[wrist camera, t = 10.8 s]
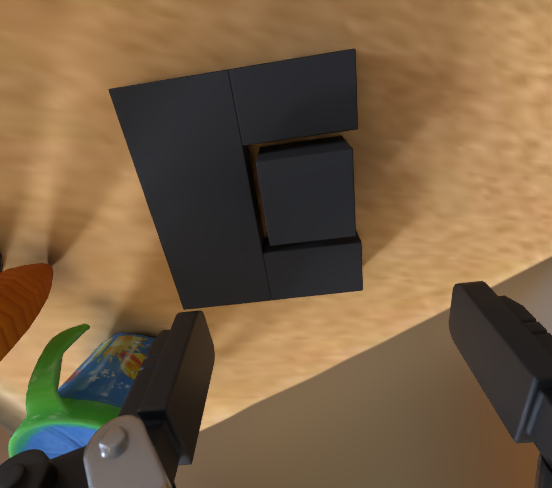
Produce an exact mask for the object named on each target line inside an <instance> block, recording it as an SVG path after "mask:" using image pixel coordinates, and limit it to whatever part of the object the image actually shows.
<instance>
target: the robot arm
mask: <svg viewBox="0 0 552 488" xmlns="http://www.w3.org/2000/svg"><path fill="white" fill-rule="evenodd" d="M449 330H450V334H451V337H452V339H453V341H454V343H455V345H456V346H457V348H458V350H459V351H460V353H461V355H462V356H463V358H464V360H465V361H466V363H467V364H468V366H469V368H470V369H471V371H472V372H473V374H474V376H475V378H476V379H477V381H478V383H479V384H480V386H481V387H482V389H483V391H484V392H485V394H486V396H487V397H488V399H489V401H490V402H491V404H492V405H493V407H494V409H495V410H496V412H497V414H498V415H499V417H500V419H501V420H502V422H503V423H504V425H505V427H506V428H507V430H508V432H509V433H510V435H511V437H512V438H513V440H514V441H515V443H529V442H534V444H535V445H536V447H537V448H538V450H539V451H540V454H539V457H538V462H537V470H536V478H535V487H534V488H552V335H551V334H550V333H547V330H546V329H545V328H544V327H543V326H542V325H541V324H540V323H539V322H536V319H535V318H534V317H533V316H532V315H531V314H530V313H529V312H528V311H527V310H526V308H525V307H524V306H522V305H520V304H519V303H517V302H515V301H513V300H512V299H510V298H508V297H506V296H497V295H496V294H495V292H493V290H492V289H491V288H490V287H489V286H488V285H487V284H486V283H485V282H483V281H477V282H467V283H458V284H455V285H454V287H453V293H452V301H451V308H450V317H449ZM145 357H146V358H145V359H144V360H143V362H142V365H141V367H140V371H138V373H137V376H136V378H135V380H134V382H133V384H132V387H131V389H130V391H129V393H128V395H127V397H126V400H125V402H124V404H123V406H122V408H121V411H120V413H119V415H118V417H117V418H114V419H112V420H110V421H108V422H107V423H106V424H104V425H103V426H102V427H100V428H99V429H98V430H97V431H96V432H95V433H94V435H93V436H92V437H91V439H90V440H89V442H88V444H87V445H85V446H83V447H81V448H78V449H76V450H73V451H71V452H68V453H65V454H63V455H60V456H58V457H55V458H52V459H49V457H48V456H47V455H46V454H45V453H44V452H43V451H41V450H38V449H30V450H26V451H23V452H20V453H18V454H16V455H14V456H13V457H11V458H9V459H8V460H7V461H5V462H4V463H3V464H1V465H0V488H177V486H176V483H175V481H174V479H175V476H176V472H177V468H178V465H188V464H192V461H193V456H194V452H195V447H196V443H197V438H198V434H199V429H200V425H201V420H202V416H203V411H204V407H205V402H206V398H207V393H208V389H209V384H210V380H211V375H212V370H213V366H214V360H215V352H214V345H213V341H212V338H211V335H210V332H209V329H208V326H207V323H206V319H205V316H204V314H203V312H202V311H191V312H182V313H178V314H177V315H176V317H175V320H174V322H173V325H172V327H171V329H170V330H163V331H162V332H161V333H160V334H159V335H158V336H157V337H156V338H155V340H154V341H153V342H152V343H151V345H150V347H149V349H148V352H147V354H146V356H145Z"/></svg>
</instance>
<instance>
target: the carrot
mask: <svg viewBox="0 0 552 488" xmlns="http://www.w3.org/2000/svg"><path fill="white" fill-rule="evenodd" d="M52 279H53V269H52V267H51V266H50V265H49V264H44V263H39V264H30V265H23V266H19V267H15V268H11V269H8V270H5V271H3V272H1V273H0V361H1V360H2V359H3V358H4V357H5V356H6V355H7V353H8V352H9V351H10V350H11V349H12V348H13V347H14V345H15V344H16V343H17V342H18V341H19V340H20V338H21V337H22V336H23V335H24V334H25V333H26V331H27V330H28V329H29V328H30V326H31V325H32V323H33V322H34V320H35V319H36V317H37V315H38V314H39V312H40V311H41V309H42V307H43V305H44V304H45V302H46V300H47V299H48V296H49V293H50V289H51V286H52Z"/></svg>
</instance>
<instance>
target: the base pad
mask: <svg viewBox="0 0 552 488" xmlns="http://www.w3.org/2000/svg"><path fill="white" fill-rule="evenodd" d="M109 93H110V96H111V99H112V102H113V104H114V107H115V110H116V113H117V116H118V119H119V122H120V125H121V128H122V131H123V134H124V137H125V139H126V142H127V145H128V148H129V151H130V154H131V157H132V160H133V163H134V166H135V169H136V172H137V175H138V177H139V180H140V183H141V186H142V189H143V192H144V195H145V198H146V201H147V204H148V207H149V210H150V212H151V215H152V218H153V221H154V224H155V227H156V230H157V233H158V236H159V239H160V242H161V245H162V248H163V250H164V253H165V256H166V259H167V262H168V265H169V268H170V271H171V274H172V277H173V280H174V283H175V285H176V288H177V291H178V294H179V297H180V300H181V303H182V306H183V309H184V310H185V309H195V308H204V307H214V306H223V305H232V304H242V303H251V302H260V301H270V300H271V299H272V300H278V299H287V298H296V297H306V296H315V295H324V294H334V293H343V292H353V291H362V290H363V277H362V244H361V240H360V238H359V236H358V234H357V231H356V236H350V237H341V238H333V239H324V240H316V241H307V242H299V243H290V244H282V245H273V246H270V244H269V238H265V239H264V234H263V229H262V223H261V218H260V212H259V207H258V201H257V196H256V190H255V184H254V179H253V173H252V168H251V162H250V157H249V151H248V146H247V145H252V144H259V143H266V142H273V141H280V140H287V139H293V138H300V137H307V136H314V135H321V134H328V133H335V132H342V131H348V130H355V129H358V112H357V79H356V50H355V49H349V50H343V51H337V52H331V53H325V54H319V55H313V56H307V57H301V58H295V59H289V60H282V61H276V62H270V63H264V64H258V65H252V66H246V67H240V68H234V69H229V70H222V71H216V72H210V73H204V74H198V75H191V76H185V77H179V78H173V79H167V80H161V81H155V82H149V83H143V84H137V85H131V86H125V87H119V88H113V89H109Z"/></svg>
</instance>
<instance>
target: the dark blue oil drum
mask: <svg viewBox="0 0 552 488" xmlns="http://www.w3.org/2000/svg"><path fill="white" fill-rule="evenodd" d="M1 272H2V257H1V253H0V273H1Z"/></svg>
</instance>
